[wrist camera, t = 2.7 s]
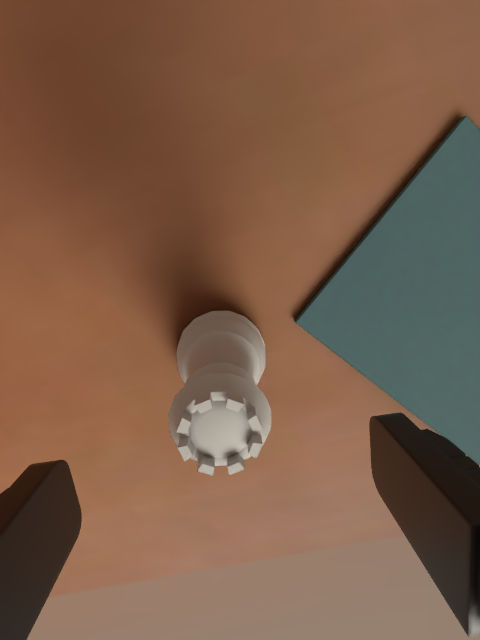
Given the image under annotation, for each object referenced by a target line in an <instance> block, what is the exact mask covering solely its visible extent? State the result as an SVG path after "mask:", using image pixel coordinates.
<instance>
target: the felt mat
mask: <svg viewBox="0 0 480 640" xmlns="http://www.w3.org/2000/svg"><path fill="white" fill-rule="evenodd" d="M295 322H296V323H297V324H298V325H299V326H301V327H302V328H303V329H304V330H306V331H307V332H308V333H310V334H311V335H312V336H314V337H315V338H316V339H317V340H319V341H320V342H321V343H323V344H324V345H325V346H326V347H328V348H329V349H330V350H332V351H333V352H334V353H336V354H337V355H338V356H339V357H341V358H342V359H343V360H345V361H346V362H347V363H348V364H350V365H351V366H352V367H354V368H355V369H356V370H357V371H359V372H360V373H361V374H363V375H364V376H365V377H367V378H368V379H369V380H370V381H372V382H373V383H374V384H376V385H377V386H378V387H379V388H381V389H382V390H383V391H385V392H386V393H387V394H389V395H390V396H391V397H392V398H394V399H395V400H396V401H398V402H399V403H400V404H401V405H403V406H404V407H405V408H407V409H408V410H409V411H410V412H412V413H413V414H414V415H416V416H417V417H418V418H420V419H421V420H422V421H423V422H425V423H426V424H427V425H429V426H430V427H431V428H432V429H434V430H435V431H436V432H438V433H439V434H440V435H442V436H443V437H445V438H447V439H449V440H450V441H451V442H452V443H453V444H455V445H456V446H457V447H458V448H459V449H460V450H462V451H463V452H464V453H465V454H466V455H467V456H469V457H470V458H471V459H473V460H474V461H475V462H476V463H478V464H479V465H480V129H479V128H478V127H477V126H476V125H475V124H474V123H473V122H472V121H471V120H470V119H469V118H468V117H467V116H465V117H463V118H461V119H460V120H459V121H458V123H457V124H456V125H455V126H454V127H453V129H452V130H451V131H450V132H449V133H448V135H447V136H446V137H445V138H444V140H443V141H442V142H441V143H440V144H439V146H438V147H437V148H436V149H435V150H434V152H433V153H432V154H431V155H430V157H429V158H428V159H427V160H426V161H425V163H424V164H423V165H422V166H421V167H420V169H419V170H418V171H417V172H416V174H415V175H414V176H413V177H412V178H411V180H410V181H409V182H408V183H407V184H406V186H405V187H404V188H403V189H402V191H401V192H400V193H399V194H398V195H397V197H396V198H395V199H394V200H393V201H392V203H391V204H390V205H389V206H388V208H387V209H386V210H385V211H384V212H383V214H382V215H381V216H380V217H379V218H378V220H377V221H376V222H375V223H374V225H373V226H372V227H371V228H370V229H369V231H368V232H367V233H366V234H365V235H364V237H363V238H362V239H361V240H360V242H359V243H358V244H357V245H356V246H355V248H354V249H353V250H352V251H351V252H350V254H349V255H348V256H347V257H346V259H345V260H344V261H343V262H342V263H341V265H340V266H339V267H338V268H337V269H336V271H335V272H334V273H333V274H332V276H331V277H330V278H329V279H328V280H327V282H326V283H325V284H324V285H323V286H322V288H321V289H320V290H319V291H318V293H317V294H316V295H315V296H314V297H313V299H312V300H311V301H310V302H309V303H308V305H307V306H306V307H305V308H304V310H303V311H302V312H301V313H300V314H299V316H298V317H297V318H296V319H295Z"/></svg>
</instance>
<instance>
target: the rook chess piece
mask: <svg viewBox="0 0 480 640" xmlns="http://www.w3.org/2000/svg"><path fill="white" fill-rule="evenodd" d="M177 348H178V349H177V352H176V354H177V369H178V371H179V373H180V375H181V377H182V379H183V381H184V383H185V386H184V388H183V389H182V390H181V391H180V392H179V393H178V394H177V395H176V396H175V398H174V400H173V403H172V406H171V408H170V411H169V413H168V414H169V429H170V433H171V435H172V437H173V439H174V441H175V443H176V444H177V446H178V447H177V448H178V450H179V452H180V453H181V455H182V457H183V459H184V461H186V460H187V459H189V458H192V459H193V460H195V461H198V469H197V471H199V472H202V473H205V474H208V475H212V476H213V473H214V468H215V466H223V465H227V467H228V471H229V475H231V474H234V473H236V472H239V471H241V470H244V469H245V466H244V460H245V459H247V458H250V457H251V456H253V457H255V458H257V456H258V454H259V452H260V449H261V447H262V446H263V444H264V442H265V440H266V438H267V436H268V433H269V431H270V429H271V408H270V406H269V404H268V402H267V400H266V397H265V395H264V393H263V392H262V391H261V390H260V389H259V388H258V387H257V384H258V382H259V380H260V378H261V375H262V373H263V371H264V369H265V356H266V350H265V343H264V341H263V339H262V336H261V334H260V332H259V329H258V328H257V327H256V326H255V325H254V324H253V323H252V322H251V321H249V320H248V319H247V318H246V317H245V316H242V315H239V314H237V313H234V312H231V311H211V312H208V313H206V314H204V315H201V316H199V317H197V318H195V319H194V320H193V321H192V322H191V323H190V324H189V325H188V326H187V327H186V328H185V329H184V330H183V333H182V335H181V338H180V341H179V343H178V346H177Z"/></svg>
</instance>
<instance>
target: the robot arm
mask: <svg viewBox="0 0 480 640" xmlns="http://www.w3.org/2000/svg"><path fill="white" fill-rule="evenodd" d="M369 425H370V447H371V467H372V474H373V479H374V482H375V485H376V488H377V490H378V492H379V494H380V496H381V498H382V499H383V501H384V502H385V504H386V506H387V507H388V509H389V510H390V512H391V514H392V515H393V517H394V518H395V520H396V522H397V523H398V525H399V526H400V528H401V530H402V531H403V533H404V534H405V536H406V538H407V539H408V541H409V542H410V544H411V546H412V547H413V549H414V550H415V552H416V554H417V555H418V557H419V558H420V560H421V562H422V563H423V565H424V566H425V568H426V570H427V571H428V573H429V574H430V576H431V578H432V579H433V581H434V582H435V584H436V586H437V587H438V589H439V590H440V592H441V594H442V595H443V597H444V598H445V600H446V602H447V603H448V605H449V606H450V608H451V610H452V611H453V613H454V614H455V616H456V618H457V619H458V621H459V622H460V624H461V626H462V627H463V629H464V630H465V632H466V634H467V635H468V637H470V636H477V635H480V468H479V465H478V464H477V463H476V462H474V461H473V460H472V459H471V458H470V457H469V456H467V457H466V455H465V453H464V452H463V451H462V450H460V449H459V448H458V447H457V446H456V445H455V444H453V443H452V442H451V441H450V440H449V439H447V438H445V437H443V436H441V435H439V434H436V433H434V432H432V431H430V430H428V429H425V430H420V429H419V428H418V427H417V426H416V425H415V424H414V423H413V422H412V421H410V420H409V419H408V418H407V417H406V416H405V415H404V414H403V413H393V414H386V415H379V416H373V417H371V419H370V424H369ZM81 518H82V517H81V508H80V505H79V501H78V497H77V494H76V490H75V486H74V483H73V479H72V476H71V472H70V468H69V466H68V464H67V462H66V461H64V460H57V461H50V462H43V463H36V464H32V465H30V466H29V467H28V468H27V469H26V470H25V471H24V472H23V473H22V474H21V475H20V476H19V478H18V479H17V480H16V481H15V482H14V483H13V484H12V485H11V487H10V488H8V489H6V490H5V491H4V492H2V493H1V494H0V640H26V639H27V637H28V635H29V633H30V632H31V629H32V627H33V625H34V624H35V621H36V619H37V618H38V616H39V614H40V611H41V609H42V607H43V606H44V604H45V602H46V599H47V598H48V596H49V594H50V592H51V590H52V588H53V586H54V584H55V582H56V580H57V578H58V576H59V574H60V572H61V570H62V568H63V566H64V564H65V562H66V560H67V558H68V556H69V554H70V552H71V550H72V548H73V546H74V544H75V542H76V540H77V538H78V535H79V532H80V528H81Z"/></svg>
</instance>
